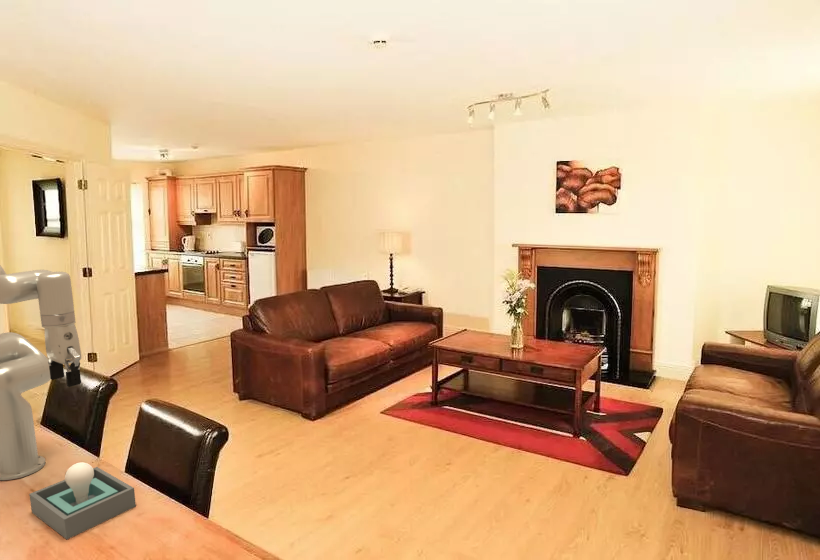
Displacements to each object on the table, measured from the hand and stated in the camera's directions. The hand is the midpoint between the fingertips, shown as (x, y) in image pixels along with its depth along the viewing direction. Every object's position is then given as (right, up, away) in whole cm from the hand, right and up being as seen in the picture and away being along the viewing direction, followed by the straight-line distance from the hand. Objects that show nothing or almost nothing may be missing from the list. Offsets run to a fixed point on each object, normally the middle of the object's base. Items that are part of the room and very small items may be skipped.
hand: (65, 381), depth 145 cm
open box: (+11, -30, -9) cm, 33 cm away
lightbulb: (+10, -29, -9) cm, 32 cm away
